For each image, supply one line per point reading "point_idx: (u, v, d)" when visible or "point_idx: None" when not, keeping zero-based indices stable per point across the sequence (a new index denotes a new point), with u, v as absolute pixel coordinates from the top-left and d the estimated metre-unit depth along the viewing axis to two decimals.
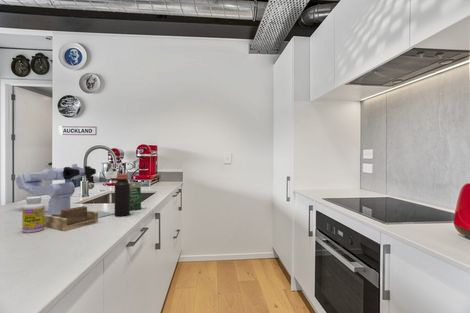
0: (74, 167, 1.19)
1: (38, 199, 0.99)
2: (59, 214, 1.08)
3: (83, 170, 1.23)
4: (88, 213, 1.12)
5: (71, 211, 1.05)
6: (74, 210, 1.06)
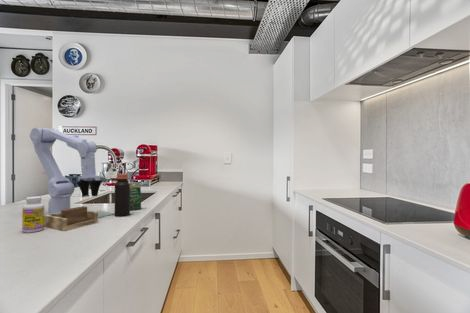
0: None
1: (38, 199, 0.99)
2: (58, 214, 1.08)
3: None
4: (88, 213, 1.12)
5: (71, 211, 1.05)
6: (74, 210, 1.06)
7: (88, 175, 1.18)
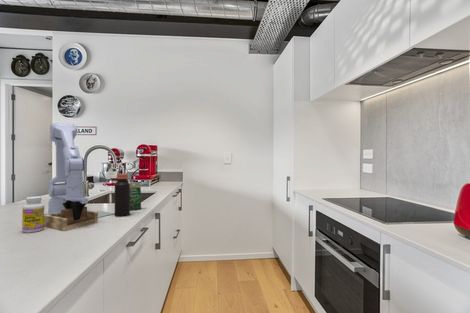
0: None
1: (38, 199, 0.99)
2: (58, 214, 1.08)
3: None
4: (88, 213, 1.12)
5: (71, 211, 1.05)
6: None
7: (74, 197, 1.05)
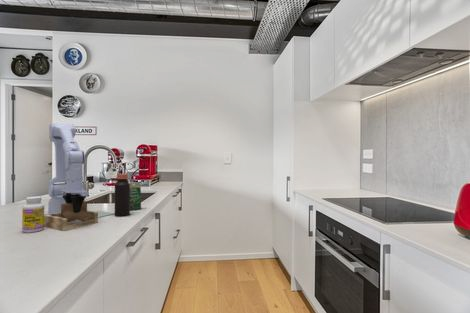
0: None
1: (38, 199, 0.99)
2: (58, 214, 1.08)
3: None
4: (88, 213, 1.12)
5: (71, 205, 1.05)
6: None
7: (74, 189, 1.05)
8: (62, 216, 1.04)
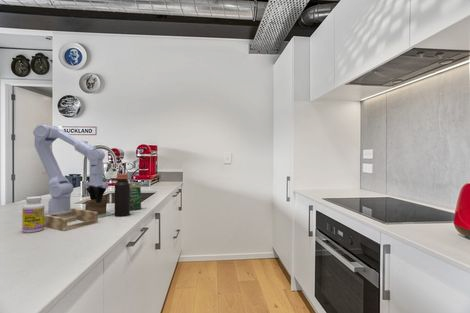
0: None
1: (38, 199, 0.99)
2: (59, 214, 1.08)
3: None
4: (88, 213, 1.12)
5: (94, 202, 1.22)
6: None
7: (96, 182, 1.22)
8: None
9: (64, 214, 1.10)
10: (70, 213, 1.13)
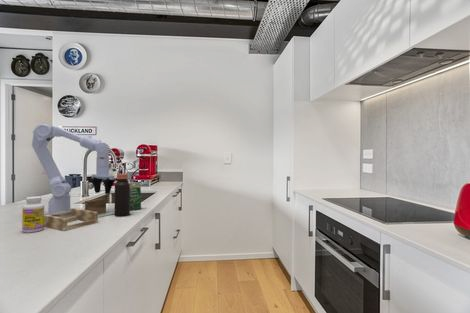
0: None
1: (38, 199, 0.99)
2: (61, 214, 1.08)
3: None
4: (88, 213, 1.12)
5: (93, 202, 1.23)
6: (96, 201, 1.24)
7: (103, 174, 1.28)
8: None
9: (65, 214, 1.10)
10: (70, 213, 1.14)
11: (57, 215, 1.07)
